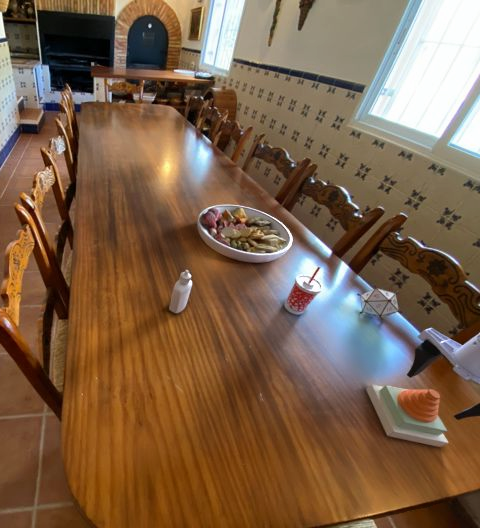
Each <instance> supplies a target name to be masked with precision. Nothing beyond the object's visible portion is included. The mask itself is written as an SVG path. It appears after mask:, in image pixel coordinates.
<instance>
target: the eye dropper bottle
mask: <svg viewBox="0 0 480 528" xmlns="http://www.w3.org/2000/svg"><path fill="white" fill-rule="evenodd" d="M191 279H192V275H191V274H190V271H189V270H188V269H185V270H184V271H182V272H181V273H180V275H179V279H177V281H176V283H175V284H174V286H173V289H172V293H171V298H170V302H169V307H168V311H170V312H171V313H174V314H179V313H181V312H183V311H184V310H185V308H186V306H187V303H188V301H189V297H190V293H191V290H192V286H193V281H192V280H191Z"/></svg>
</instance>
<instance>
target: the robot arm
mask: <svg viewBox="0 0 480 528" xmlns="http://www.w3.org/2000/svg"><path fill="white" fill-rule="evenodd" d="M416 337H417V339H419V340H420V341H422V342H421V343H419V344H416V346H415V348H414V357H413V358H414V359H413V362H412V365H411V367H410V369H409V371H407V373H406V376H407V377H408V378H410V379H411V378H414V377H416V376H419V374H421V373H423V371H425V370H426V369H427V368H428V367H429V366H430V365H431V364H432V363H434V362H435V361H436V360H438V359H439V358H440V357H442V356H444V357H445V358H446V359H447V360H448V361H449V362H450V363H451V364H452V366H454V367H452V370H453V372H454V373H456V374H457V375H459V377H461V378H462V379H464V380H466V381H469V380H471V381H473V382H474V383H477V384H478V385H480V332H478V334H476V335H475V336H473V337H472V338H470V339H469V340H468V341H466V342H465V343H464V344H463V345H462V344H461V343H459V342H457V341H455V340H454V339H451V338H450V337H448V336H446V335H444V334H442V333H440V332H439V331H437V330H436V329H435V328H433V327H430V328H426V329H424V330H423V331H421V332H420V333H419V334H418V335H417V336H416ZM473 417H474V418H475V417H480V402H479V403H476V404H475V405H472V406H471V407H468V408H465V409H464V410H461V411H459V412H458V413H456V414H454V415H453V418H455V420H457V421H460V420H462V419H466V418H473Z"/></svg>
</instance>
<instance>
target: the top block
mask: <svg viewBox="0 0 480 528" xmlns="http://www.w3.org/2000/svg"><path fill="white" fill-rule="evenodd" d="M382 387H383V388H382V389H381V390H380V392H381V394H382V396H383V398H384V400H385V402H386V404H387V407H388V409H389V411H390V413H391V415H392V417H393V419H394V421H395V423H396V425H397V427H401V428H406V429H410V430H415V431H420V432H425V433H430V434H434V435H441V434H445V433H447V432H448V430H447V428H446V426H445V424H444V423H443V420H442V419H441V418H440V416H439V415H438V416H437V419H436V420H434V421H432V422H430V423H424V422H421V421H418V420H416V419H414V418H413V417H411V416H410V415H408V414H407V413H406V412H405V411H404V410H403V409H402V408H401V406H400V405H399V403H398V400H397V396H398V394H399V393H400V392H401V391H403V390H408V389H406V388H401V387H396V386H391V385H384V386H382Z"/></svg>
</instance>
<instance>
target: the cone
mask: <svg viewBox="0 0 480 528" xmlns="http://www.w3.org/2000/svg"><path fill="white" fill-rule="evenodd" d="M440 399H441V394H440V393H439V392H438V391H436V390H435V389H432V388H431V389H407V390H403V391H401V392H400V393H399V394H398V396H397V400H398V403H399V405H400V406H401V408H402V409H403V410H404V411H405V412H406V413H407V414H408V415H410V416H411V417H413V418H414V419H416V420H418V421H421V422H424V423H430V422H432V421H434V420H436V419H437V416H439V414H438V413H439V408H440V403H441V401H440Z"/></svg>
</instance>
